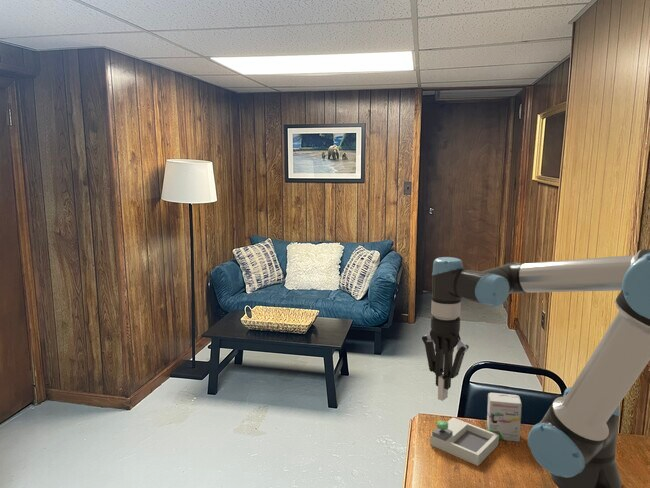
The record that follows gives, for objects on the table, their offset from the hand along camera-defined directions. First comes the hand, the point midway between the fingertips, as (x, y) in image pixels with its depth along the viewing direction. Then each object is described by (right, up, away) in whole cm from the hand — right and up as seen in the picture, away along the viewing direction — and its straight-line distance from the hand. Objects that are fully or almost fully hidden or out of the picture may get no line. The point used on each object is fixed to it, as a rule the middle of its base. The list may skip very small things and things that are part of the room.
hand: (442, 398), depth 130 cm
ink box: (+19, -13, +6) cm, 24 cm away
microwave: (+7, -14, +2) cm, 15 cm away
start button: (0, -10, +1) cm, 10 cm away
